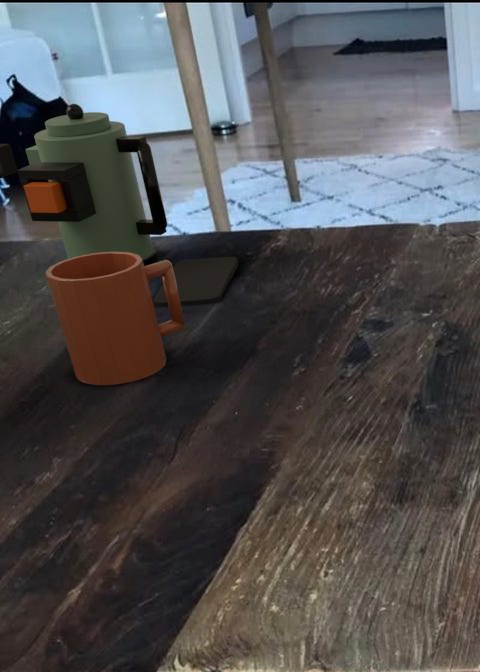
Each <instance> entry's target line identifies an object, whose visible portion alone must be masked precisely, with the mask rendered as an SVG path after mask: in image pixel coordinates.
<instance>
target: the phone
mask: <svg viewBox="0 0 480 672" xmlns="http://www.w3.org/2000/svg"><path fill="white" fill-rule="evenodd" d="M238 266H239V260H238V258H237V257H236V256H221V257H220V256H219V257H218V256H217V257H207V258H204V257H203V258H193V259H190V258H189V259H182V260H179V261H177V262H175V263H174V265H173V270H174V275H175V279H176V284H177V288H178V293H179V297H180V302H181V306H185V305H186V306H187V305H200V304H210V303H211V304H212V303H215V302H218V301H220V300H221V299H222V297H223V295H224V293H225V291H226V288H227V287H228V284H229V283H230V282H231V280H232V279H233V277H234V275H235V272H236V270H237V269H238ZM152 301H153V305H154V307H169V306H168V302H167V297H166V293H165V289H164V284H163V283H162V284H161V286H160V288H159V290H158V291H157V293H156V294H155V296H154V297H153V298H152Z"/></svg>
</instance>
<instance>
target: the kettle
mask: <svg viewBox="0 0 480 672" xmlns="http://www.w3.org/2000/svg"><path fill="white" fill-rule="evenodd" d="M44 126H45V129H43V130H40V131H38V132H36V133H35V134H34V136H33V137H34V140H35V144H36V145H33V146H31V147H28V148H25V153H26V156H27V160H28V164H29V165H27V166H24V167H21V168H19V169H17V170H18V172H17V173H18V177H19V180H20V184H21V186H22V190H23V194H24V197H25V200H26V204H27V207H28V211H29V214H30V218H31V220H32V222H57V224H58V227H59V231H60V235H61V238H62V241H63V246H64V249H65V253H66V256H67V259H70V258H73V257H77V256H81V255H87V254H92V253H101V252H130V253H133V254H137V255H139V256H140V257H141V258H142V260H143V263H144V266H147V265H150V264H153V263H156V262H158V260H159V257H158V252H157V249H156V248H155V246H153V242H152V237H151V236H162V235H164V234H165V233H167V232H168V231H167V227H168V220H167V219H168V218H167V216H166V210H165V206H164V202H163V197H162V192H161V188H160V184H159V179H158V174H157V169H156V165H155V161H154V157H153V153H152V148H151V146H150V144H149V143H148V140H147V137H146V136H144V135H139V136H137V135H135V136H134V135H133V136H132V135H131V136H128V135H127V131H126V126H125V124H124V122H120V121H116V120H115V121H113V120H110V117H109V114H107V113H106V112H98V111H95V112H94V111H92V112H84V110H83V108H82V107H81V106H80V105H79V104H77V103H71V104H69V105H68V106H67V108H66V114H65V115H59V116H55V117H52V118H49V119H47V120H46V121H44ZM132 153H136V155H137V159H138V164H139V167H140V172H141V177H142V181H143V185H144V190H145V194H146V199H147V202H148V208H149V211H150V216H151V219H147V216H146V211H145V207H144V203H143V199H142V195H141V191H140V186H139V182H138V177H137V173H136V169H135V165H134V160H133V156H132ZM32 182H61V185H62V189H63V193H64V196H65V200H66V204H67V207H68V209H66V210H64V211H62V212H59V213H34V212H31V210H30V206H29V203H28V200H27V196H26V193H25V189H24V185H27V184H29V183H32Z"/></svg>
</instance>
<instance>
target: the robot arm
mask: <svg viewBox="0 0 480 672" xmlns="http://www.w3.org/2000/svg"><path fill="white" fill-rule="evenodd" d="M18 170H19V169H18V167H17V163H16V160H15V157H14V152H13V149H12V146H11V144H10V143H0V180H1V179H3V178H6V177H8V176H11V175H13V174H16V173H18Z"/></svg>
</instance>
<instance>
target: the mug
mask: <svg viewBox="0 0 480 672" xmlns="http://www.w3.org/2000/svg"><path fill="white" fill-rule="evenodd" d="M173 267H174V265H173V264H172V262H171V261H170V260H168V259H162V260H159V261H157V262H156V263H153V264H150V265H147V266H144V263H143V260H142V258H141V257H140V256H139V255H137V254H133V253H130V252H101V253H92V254H87V255H81V256H77V257H73V258H70V259H68V258H66V259H64V260H61V261H59V262H56V263H55V264H53V265H51V266H49V267H48V268H47V270H46V271H45V276H46V280H47V284H48V287H49V291H50V295H51V298H52V301H53V304H54V306H55V311H56V315H57V318H58V321H59V325H60V329H61V332H62V335H63V338H64V342H65V345H66V348H67V352H68V356H69V359H70V362H71V366H72V369H73V373H74V375H75V377H76V380H78V381H79V382H82V383H83V384H87V385H93V386H94V385H95V386H111V385H112V386H113V385H114V386H115V385H120V384H127V383H132V382H135V381H139V380H142V379H146V378H147V377H150V376H152V375H154V374H156V373H158V372H159V371H161V370H162V369H163V368H164V367H165V365H166V363H167V356H166V350H165V348H164V343H163V339H162V338H164V337H166V336H169V335H172V334H175V333H178V332H180V331H183V330H185V328H186V319H185V315H184V312H183V311H184V310H183V305H181V302H180V297H179V293H178V288H177V284H176V279H175V275H174V270H173ZM158 277H161V279H162V285H163V284H164V289H165V293H166V297H167V302H168V306H167V307H168V310H169V314H170V319H169V320H167V321H165V322H161V323H158V318H157V314H156V310H155V305H154V304H153V298H152V297H153V296H152V292H151V289H150V285H149V280H153V279H155V278H158Z"/></svg>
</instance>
